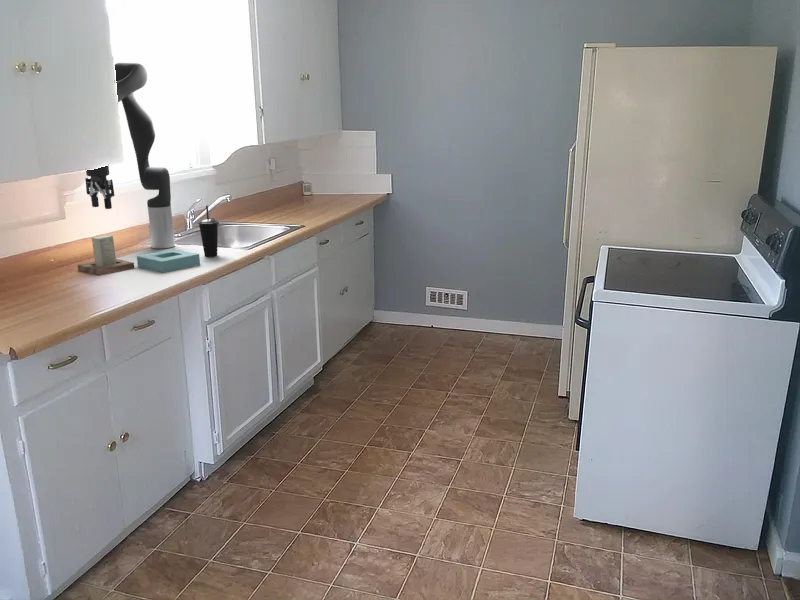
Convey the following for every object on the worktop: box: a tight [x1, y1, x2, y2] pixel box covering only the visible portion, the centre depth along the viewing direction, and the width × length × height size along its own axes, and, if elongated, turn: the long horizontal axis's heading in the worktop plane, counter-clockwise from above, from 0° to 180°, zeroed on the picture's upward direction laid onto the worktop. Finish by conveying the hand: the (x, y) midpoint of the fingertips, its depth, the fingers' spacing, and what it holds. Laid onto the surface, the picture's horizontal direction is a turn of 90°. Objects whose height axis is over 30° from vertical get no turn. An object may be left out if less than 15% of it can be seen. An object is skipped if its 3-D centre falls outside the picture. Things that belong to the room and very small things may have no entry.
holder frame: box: [77, 258, 135, 276], centre depth 256 cm, size 14×14×2 cm
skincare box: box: [91, 234, 117, 267], centre depth 255 cm, size 6×4×12 cm
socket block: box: [136, 248, 201, 273], centre depth 261 cm, size 16×16×4 cm
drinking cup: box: [197, 205, 219, 258], centre depth 274 cm, size 8×8×20 cm
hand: (102, 207), depth 251 cm, fingers open, 8 cm apart
